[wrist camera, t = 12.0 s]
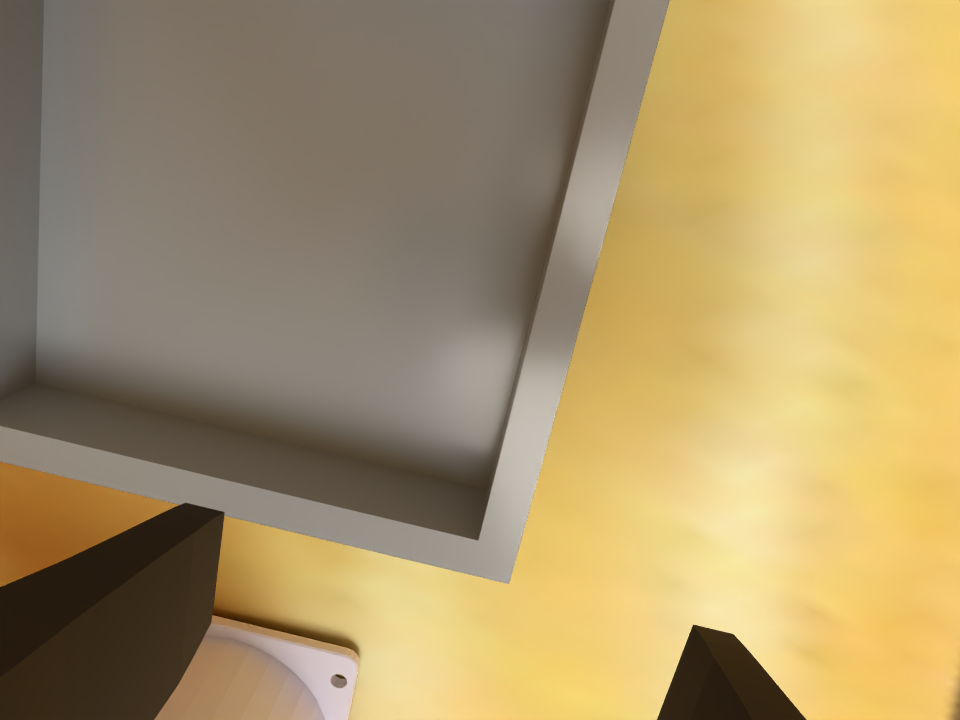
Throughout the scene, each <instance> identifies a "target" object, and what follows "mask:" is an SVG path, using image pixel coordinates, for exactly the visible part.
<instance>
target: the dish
mask: <svg viewBox="0 0 960 720" xmlns="http://www.w3.org/2000/svg"><path fill="white" fill-rule="evenodd" d="M668 4H669V0H0V462H4V463H8V464H12V465H16V466H20V467H24V468H28V469H33V470H37V471H41V472H45V473H49V474H53V475H58V476H62V477H66V478H70V479H74V480H78V481H83V482H87V483H91V484H95V485H99V486H103V487H107V488H112V489H116V490H120V491H124V492H128V493H132V494H137V495H141V496H145V497H149V498H153V499H157V500H162V501H166V502H170V503H174V504H178V505H181V504H183V503H190V504H194V505H198V506H202V507H206V508H210V509H214V510H219V511H223V512H225V513H224V516H228V517H232V518H236V519H240V520H245V521H249V522H253V523H257V524H261V525H265V526H270V527H274V528H278V529H282V530H286V531H290V532H295V533H299V534H303V535H307V536H311V537H315V538H319V539H324V540H328V541H332V542H336V543H340V544H344V545H349V546H353V547H357V548H361V549H365V550H369V551H374V552H378V553H382V554H386V555H390V556H394V557H398V558H403V559H407V560H411V561H415V562H419V563H423V564H428V565H432V566H436V567H440V568H444V569H448V570H453V571H457V572H461V573H465V574H469V575H473V576H477V577H482V578H486V579H490V580H494V581H498V582H502V583H507V584H509V582H510V579H511V575H512V572H513V568H514V564H515V561H516V557H517V553H518V550H519V546H520V542H521V539H522V535H523V532H524V528H525V524H526V521H527V517H528V513H529V510H530V506H531V502H532V499H533V495H534V492H535V488H536V484H537V481H538V477H539V473H540V470H541V466H542V462H543V459H544V455H545V452H546V448H547V444H548V441H549V437H550V433H551V430H552V426H553V422H554V419H555V415H556V411H557V408H558V404H559V401H560V397H561V393H562V390H563V386H564V382H565V379H566V375H567V371H568V368H569V364H570V361H571V357H572V353H573V350H574V346H575V342H576V339H577V335H578V331H579V328H580V324H581V321H582V317H583V313H584V310H585V306H586V302H587V299H588V295H589V291H590V288H591V284H592V281H593V277H594V273H595V270H596V266H597V262H598V259H599V255H600V251H601V248H602V244H603V241H604V237H605V233H606V230H607V226H608V222H609V219H610V215H611V211H612V208H613V204H614V201H615V197H616V193H617V190H618V186H619V182H620V179H621V175H622V171H623V168H624V164H625V160H626V157H627V153H628V150H629V146H630V142H631V139H632V135H633V131H634V128H635V124H636V120H637V117H638V113H639V110H640V106H641V102H642V99H643V95H644V91H645V88H646V84H647V80H648V77H649V73H650V70H651V66H652V62H653V59H654V55H655V51H656V48H657V44H658V40H659V37H660V33H661V30H662V26H663V22H664V19H665V15H666V11H667V8H668Z"/></svg>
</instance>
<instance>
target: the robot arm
mask: <svg viewBox="0 0 960 720" xmlns="http://www.w3.org/2000/svg"><path fill="white" fill-rule="evenodd" d="M224 513H225V512H223V511H219V510H214V509H210V508H206V507H202V506H198V505H194V504H190V503H183V504H181V505H179V506H177V507H174V508H172V509H170V510H168V511H166V512H164V513H161V514H159V515H157V516H155V517H153V518H151V519H149V520H147V521H145V522H143V523H141V524H139V525H137V526H135V527H133V528H131V529H129V530H127V531H125V532H123V533H120V534H118V535H116V536H114V537H112V538H110V539H108V540H106V541H104V542H102V543H100V544H97V545H95V546H93V547H91V548H89V549H87V550H85V551H83V552H81V553H78V554H76V555H74V556H72V557H70V558H68V559H66V560H63V561H61V562H59V563H57V564H54V565H52V566H50V567H47V568H45V569H43V570H40V571H38V572H35V573H33V574H31V575H28V576H26V577H24V578H21V579H19V580H17V581H14V582H12V583H10V584H7V585H5V586H3V587H0V720H349V715H350V710H351V705H352V700H353V695H354V690H355V685H356V680H357V676H358V671H359V666H360V659H359V657H358V655H357V654H356V653H355V652H354V651H353V650H351V649H349V648H346V647H342V646H338V645H334V644H330V643H325V642H321V641H317V640H313V639H309V638H305V637H301V636H297V635H292V634H288V633H284V632H280V631H276V630H272V629H268V628H264V627H259V626H255V625H251V624H247V623H243V622H239V621H235V620H231V619H226V618H222V617H218V616H214V615H212V613H213V605H214V597H215V588H216V580H217V572H218V563H219V555H220V547H221V538H222V530H223V522H224ZM335 674H340V675H342V676H344V677H345V678H346V679H340V678H338V677H337V676H336V675H335ZM657 720H806V719H805V718H804V716H803V715H802V714H801V713H800V712H799V710H798V709H797V708H796V707H795V706H794V705H793V703H792V702H791V701H790V700H789V698H788V697H787V696H786V695H785V694H784V692H783V691H782V690H781V689H780V688H779V686H778V685H777V684H776V683H775V682H774V680H773V679H772V678H771V677H770V676H769V674H768V673H767V672H766V671H765V670H764V668H763V667H762V666H761V665H760V664H759V663H758V661H757V660H756V659H755V658H754V657H753V655H752V654H751V653H750V652H749V651H748V650H747V649H746V647H745V646H744V645H743V644H742V643H741V642H740V641H739V640H738V639H737V638H736V636H735V635H734V634H730V633H726V632H722V631H718V630H713V629H709V628H705V627H701V626H697V625H693V627H692V629H691V632H690V634H689V637H688V640H687V642H686V645H685V648H684V650H683V653H682V655H681V658H680V661H679V663H678V666H677V669H676V671H675V674H674V677H673V679H672V682H671V684H670V687H669V690H668V692H667V695H666V698H665V700H664V703H663V705H662V708H661V711H660V713H659V716H658V719H657Z"/></svg>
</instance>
